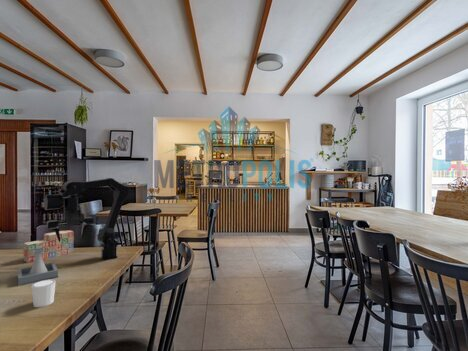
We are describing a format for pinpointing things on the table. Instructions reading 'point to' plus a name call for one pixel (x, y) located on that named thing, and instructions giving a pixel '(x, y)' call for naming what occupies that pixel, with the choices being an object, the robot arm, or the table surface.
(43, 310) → the table surface
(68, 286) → the table surface
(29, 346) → the table surface
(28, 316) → the table surface
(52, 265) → the tray
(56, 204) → the robot arm
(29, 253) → the stack of blocks
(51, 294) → the white cup
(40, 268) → the light grey vase
